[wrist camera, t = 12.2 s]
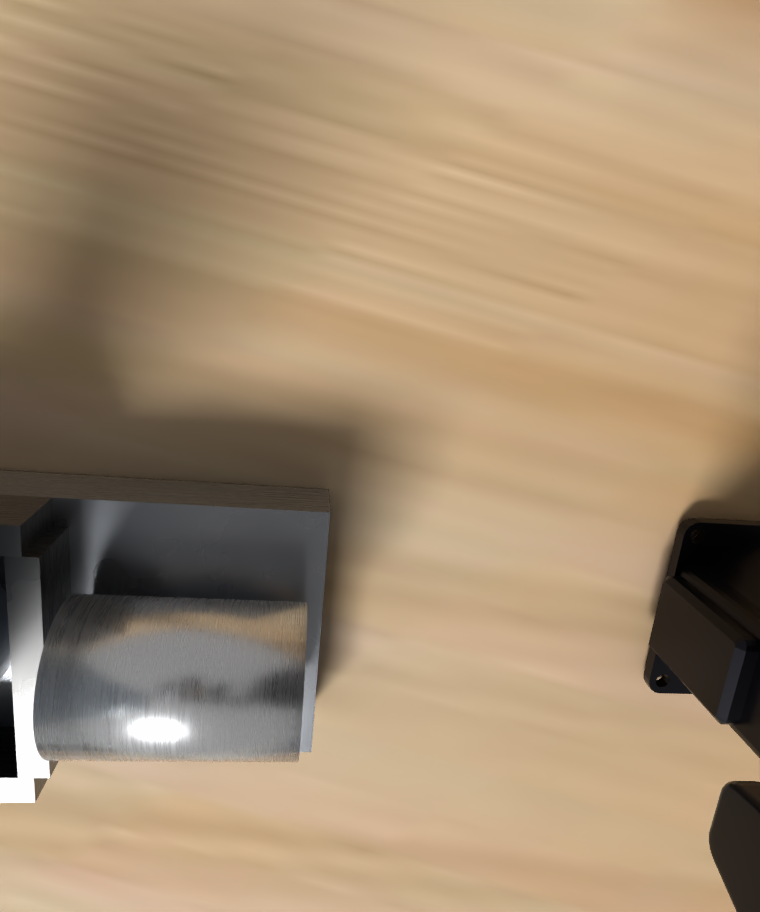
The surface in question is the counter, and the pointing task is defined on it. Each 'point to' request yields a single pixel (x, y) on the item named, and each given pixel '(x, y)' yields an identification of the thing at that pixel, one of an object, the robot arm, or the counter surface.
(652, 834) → the counter surface
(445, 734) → the counter surface
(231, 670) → the dark grey open box
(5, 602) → the dome-capped cylinder
